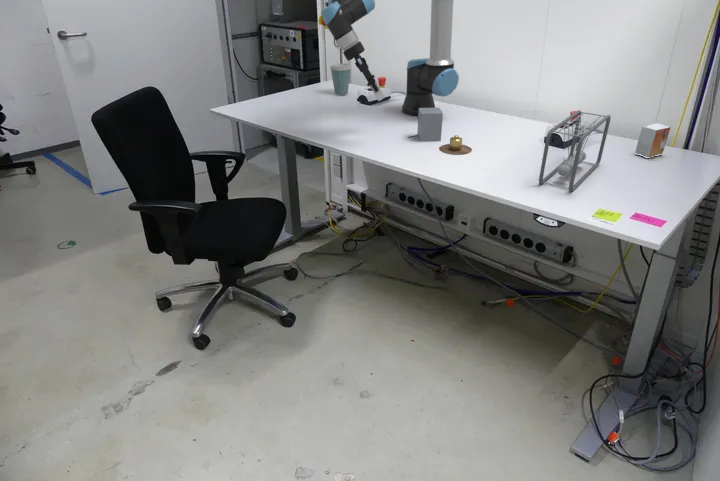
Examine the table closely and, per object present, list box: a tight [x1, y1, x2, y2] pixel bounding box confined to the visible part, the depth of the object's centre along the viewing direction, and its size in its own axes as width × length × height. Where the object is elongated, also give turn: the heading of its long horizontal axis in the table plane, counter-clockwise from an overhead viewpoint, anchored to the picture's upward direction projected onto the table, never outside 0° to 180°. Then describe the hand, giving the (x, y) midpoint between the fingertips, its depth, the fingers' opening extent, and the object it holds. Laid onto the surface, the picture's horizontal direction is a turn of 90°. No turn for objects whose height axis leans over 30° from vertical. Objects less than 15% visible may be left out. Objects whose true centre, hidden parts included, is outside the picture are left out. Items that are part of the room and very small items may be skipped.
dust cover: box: [416, 107, 443, 143], centre depth 196 cm, size 8×8×11 cm
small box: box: [634, 122, 672, 157], centre depth 179 cm, size 8×6×10 cm
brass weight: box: [449, 135, 463, 151], centre depth 186 cm, size 4×4×5 cm
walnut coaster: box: [438, 143, 473, 156], centre depth 188 cm, size 12×12×1 cm
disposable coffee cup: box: [330, 62, 352, 96], centre depth 259 cm, size 11×11×15 cm
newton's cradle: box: [538, 109, 611, 192], centre depth 163 cm, size 30×10×18 cm, turn 142°
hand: (380, 96), depth 193 cm, fingers open, 13 cm apart
